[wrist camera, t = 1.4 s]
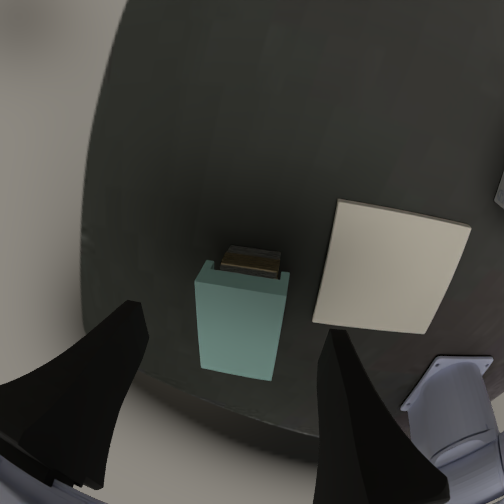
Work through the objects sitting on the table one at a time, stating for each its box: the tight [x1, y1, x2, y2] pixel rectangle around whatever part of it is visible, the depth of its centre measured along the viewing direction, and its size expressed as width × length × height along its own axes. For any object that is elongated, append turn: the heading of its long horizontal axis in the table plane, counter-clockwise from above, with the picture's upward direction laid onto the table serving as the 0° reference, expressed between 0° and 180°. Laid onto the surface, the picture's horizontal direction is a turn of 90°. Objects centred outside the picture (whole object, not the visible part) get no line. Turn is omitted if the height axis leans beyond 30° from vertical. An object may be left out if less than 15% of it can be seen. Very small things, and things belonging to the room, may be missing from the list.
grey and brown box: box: [218, 245, 281, 280], centre depth 22 cm, size 7×4×4 cm, turn 176°
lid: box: [195, 260, 290, 381], centre depth 20 cm, size 8×5×2 cm, turn 176°
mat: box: [312, 199, 471, 334], centre depth 20 cm, size 10×10×1 cm
